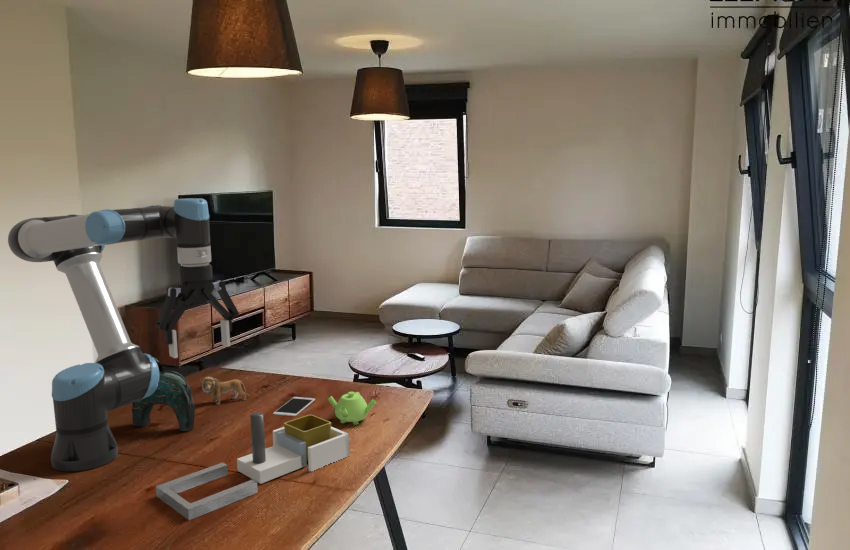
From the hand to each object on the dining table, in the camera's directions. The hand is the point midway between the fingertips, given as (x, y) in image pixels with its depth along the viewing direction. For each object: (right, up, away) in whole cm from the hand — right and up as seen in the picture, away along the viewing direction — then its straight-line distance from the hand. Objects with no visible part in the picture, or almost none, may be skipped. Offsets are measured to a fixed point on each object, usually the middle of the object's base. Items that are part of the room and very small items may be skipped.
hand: (200, 351), depth 163 cm
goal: (+25, -27, +9) cm, 38 cm away
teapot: (+33, -24, +31) cm, 51 cm away
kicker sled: (+17, -28, +1) cm, 33 cm away
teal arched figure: (-20, -25, +28) cm, 42 cm away
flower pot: (+25, -28, +8) cm, 38 cm away
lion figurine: (-8, -22, +48) cm, 53 cm away
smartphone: (+14, -22, +43) cm, 51 cm away
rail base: (+5, -31, -11) cm, 33 cm away
